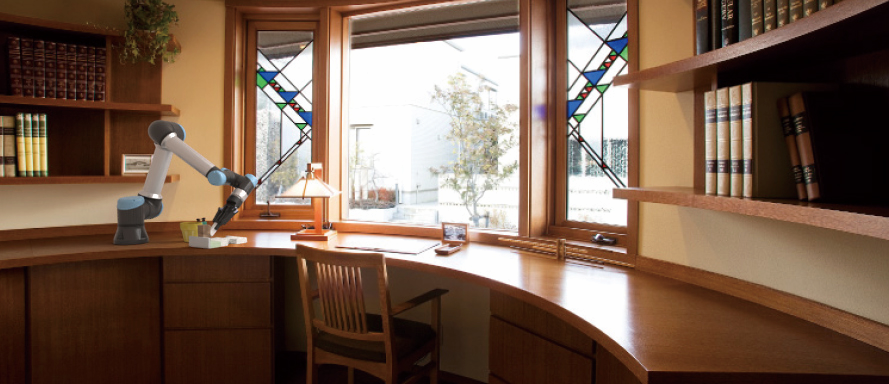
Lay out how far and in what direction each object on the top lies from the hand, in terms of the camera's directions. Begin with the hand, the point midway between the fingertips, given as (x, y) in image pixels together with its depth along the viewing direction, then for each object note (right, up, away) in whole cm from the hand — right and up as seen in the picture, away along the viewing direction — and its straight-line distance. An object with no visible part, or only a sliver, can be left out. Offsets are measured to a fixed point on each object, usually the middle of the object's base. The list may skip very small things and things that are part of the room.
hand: (209, 234), depth 248 cm
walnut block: (-1, -3, -3) cm, 4 cm away
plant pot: (-16, -5, +14) cm, 22 cm away
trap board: (+2, -5, +5) cm, 8 cm away
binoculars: (-22, -4, +32) cm, 39 cm away
